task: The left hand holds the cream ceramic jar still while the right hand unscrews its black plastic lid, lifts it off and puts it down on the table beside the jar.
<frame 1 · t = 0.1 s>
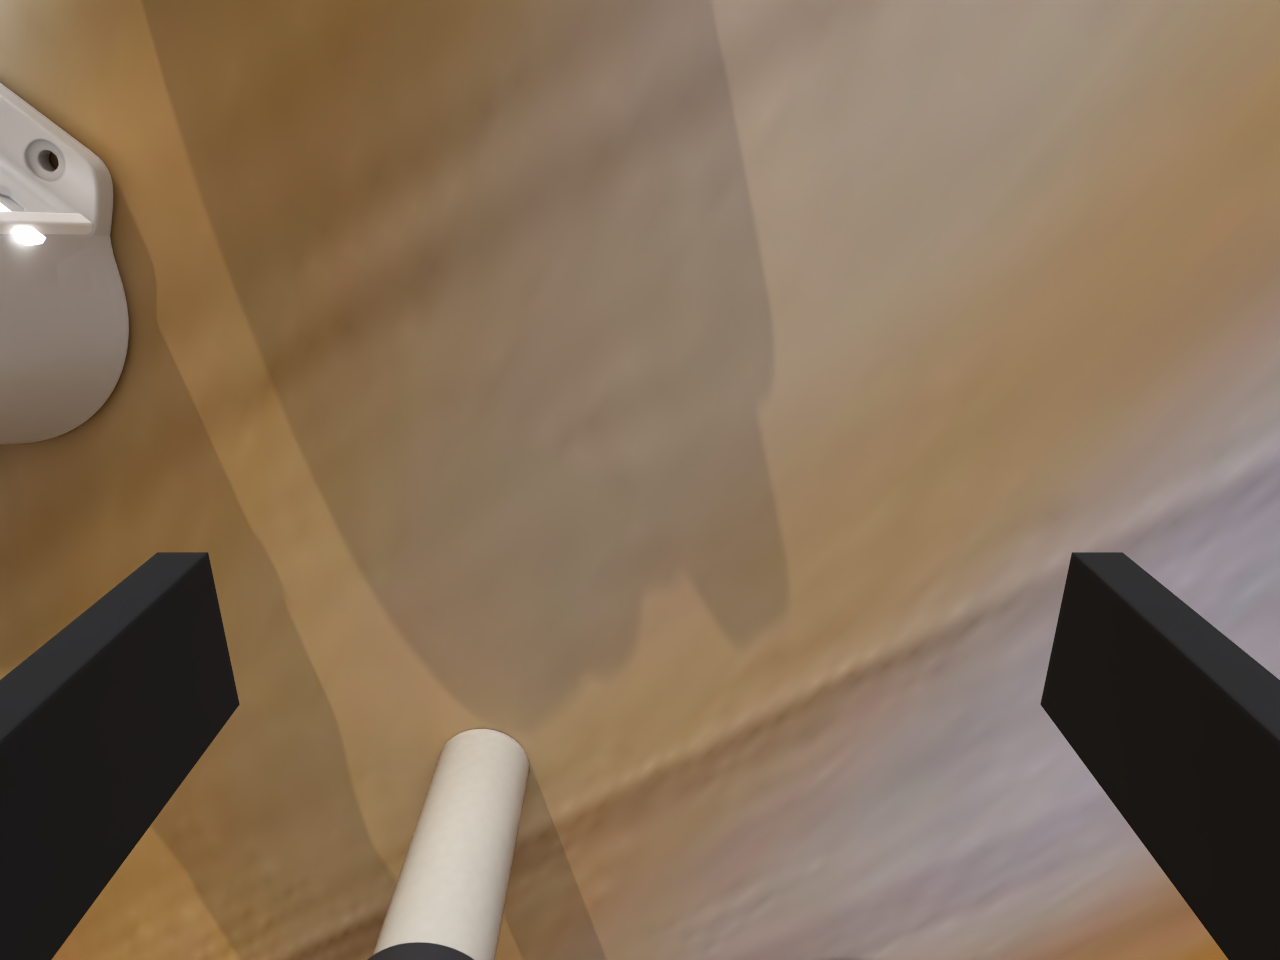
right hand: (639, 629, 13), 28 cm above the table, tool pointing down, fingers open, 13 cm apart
jar: (484, 765, 48), on the table
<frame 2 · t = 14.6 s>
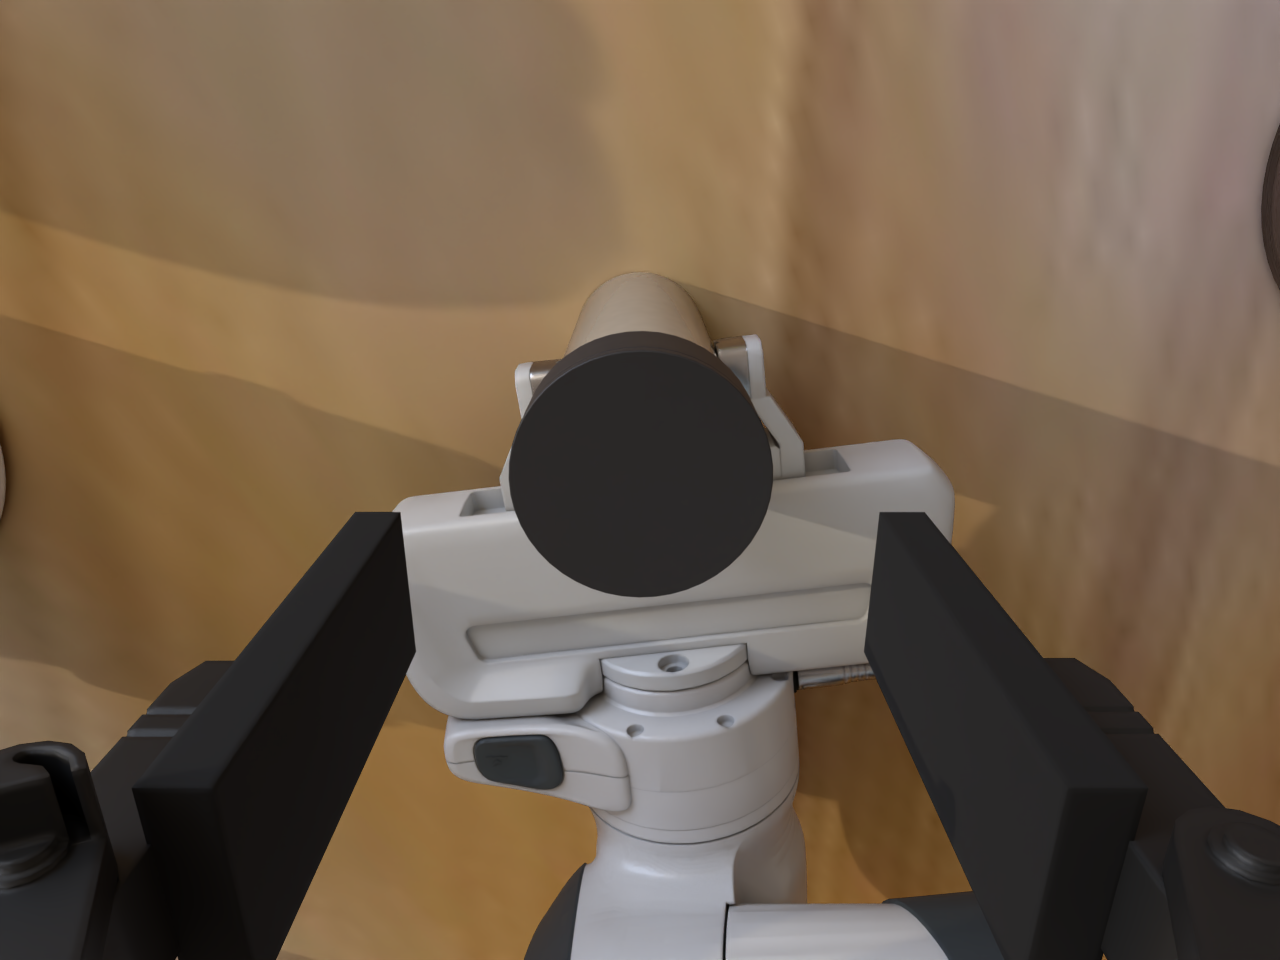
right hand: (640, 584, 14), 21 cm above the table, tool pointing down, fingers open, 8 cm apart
left hand: (635, 351, 27), fingers closed on jar, 5 cm apart
lid: (640, 475, 19), point 16 cm above the table, screwed on, not yet turned
jar: (640, 337, 34), on the table, touching left hand
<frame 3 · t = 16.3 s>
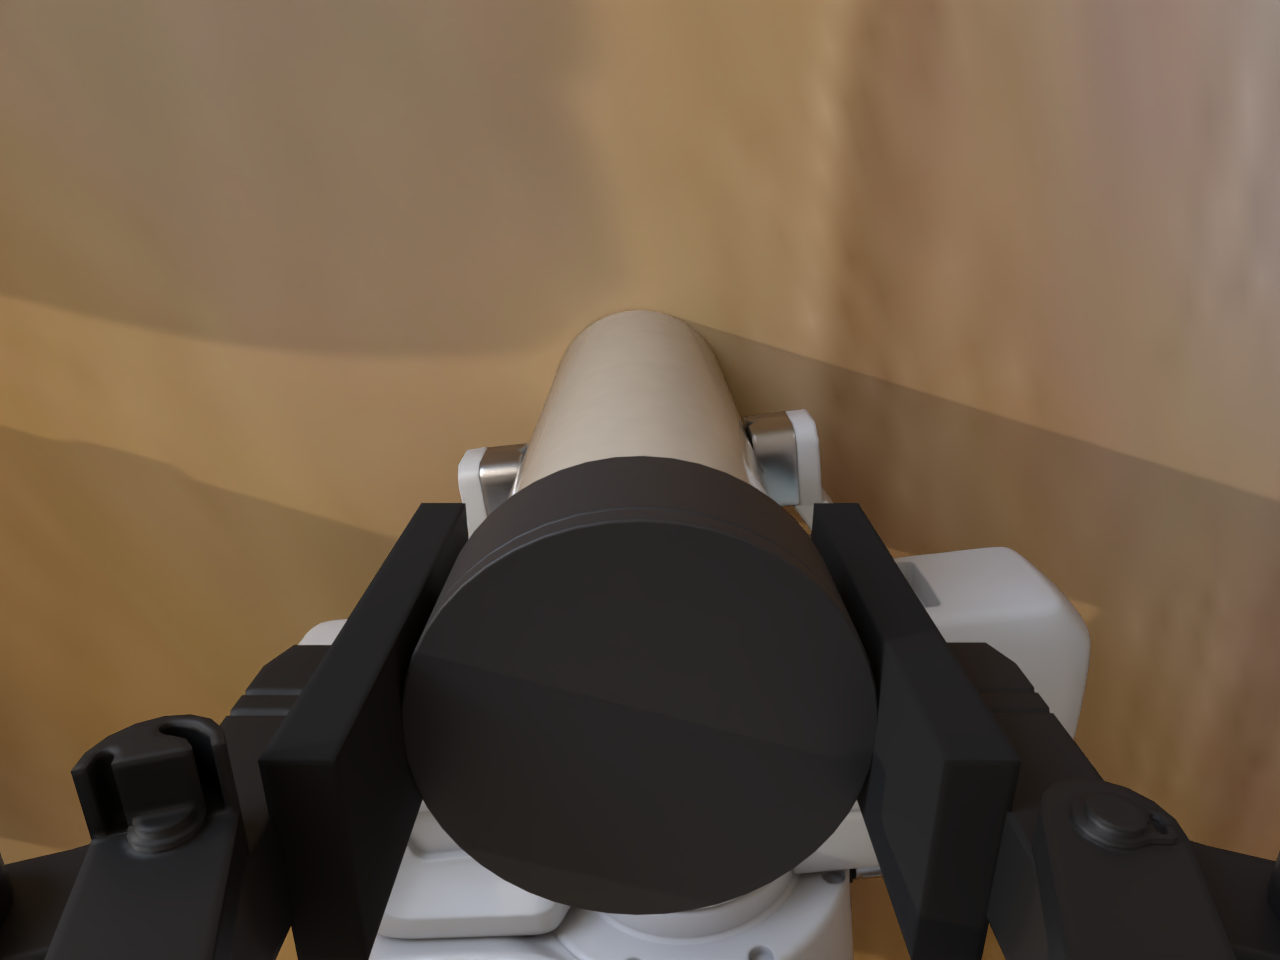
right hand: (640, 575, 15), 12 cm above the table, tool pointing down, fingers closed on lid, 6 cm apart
lid: (639, 720, 11), point 16 cm above the table, screwed on, not yet turned, touching right hand
jar: (639, 395, 26), on the table, touching left hand
when the right hand's fingers open (12 cm above the table, at t = 17.9 s): lid stays where it is, point 16 cm above the table.
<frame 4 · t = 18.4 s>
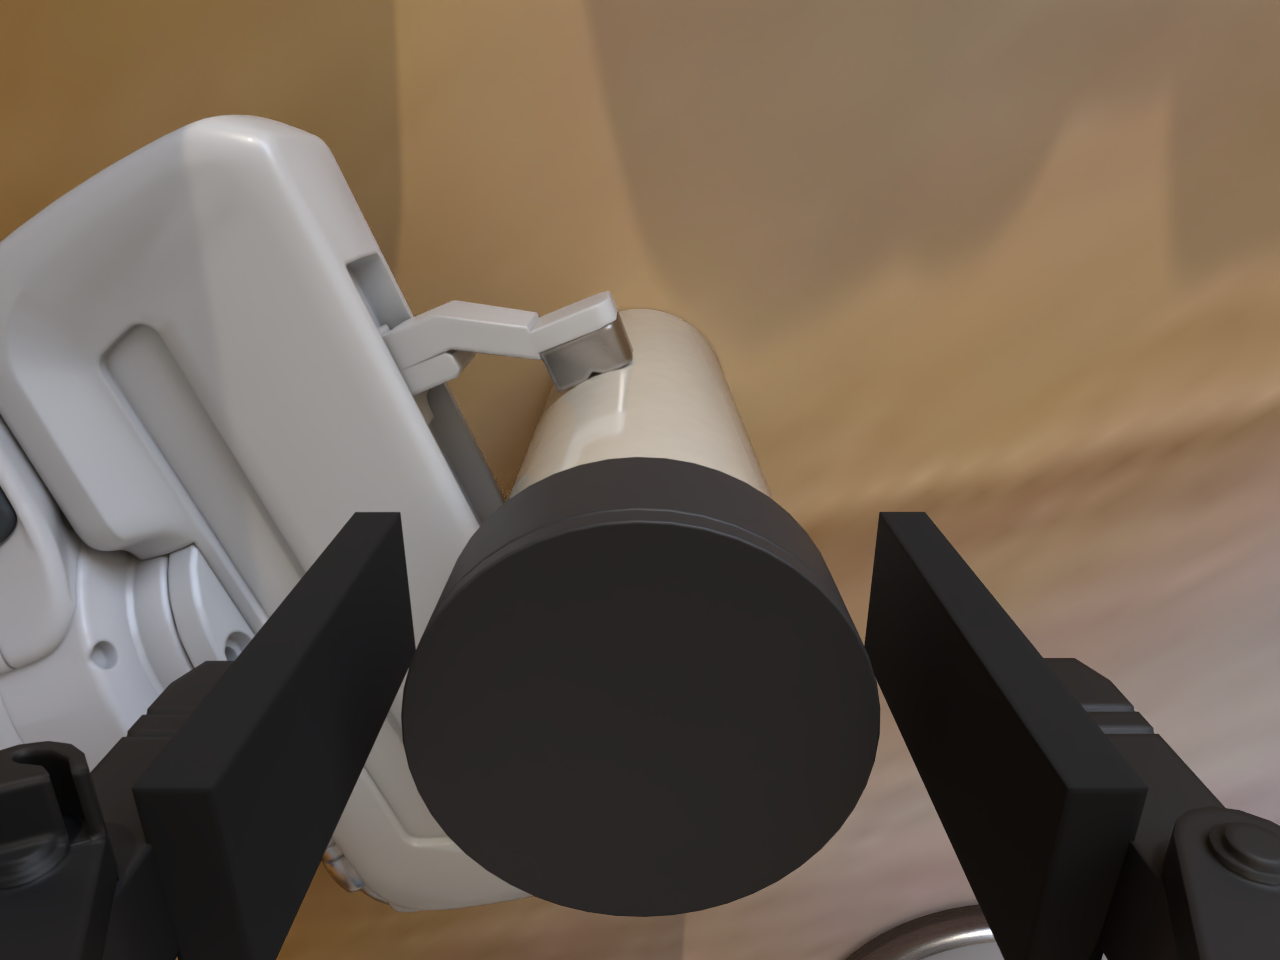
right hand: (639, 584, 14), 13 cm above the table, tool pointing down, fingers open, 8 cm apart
left hand: (675, 453, 20), fingers closed on jar, 5 cm apart
lid: (640, 722, 11), point 16 cm above the table, turned 107° so far, risen 0.3 cm, still on its thread
jar: (640, 393, 26), on the table, touching left hand
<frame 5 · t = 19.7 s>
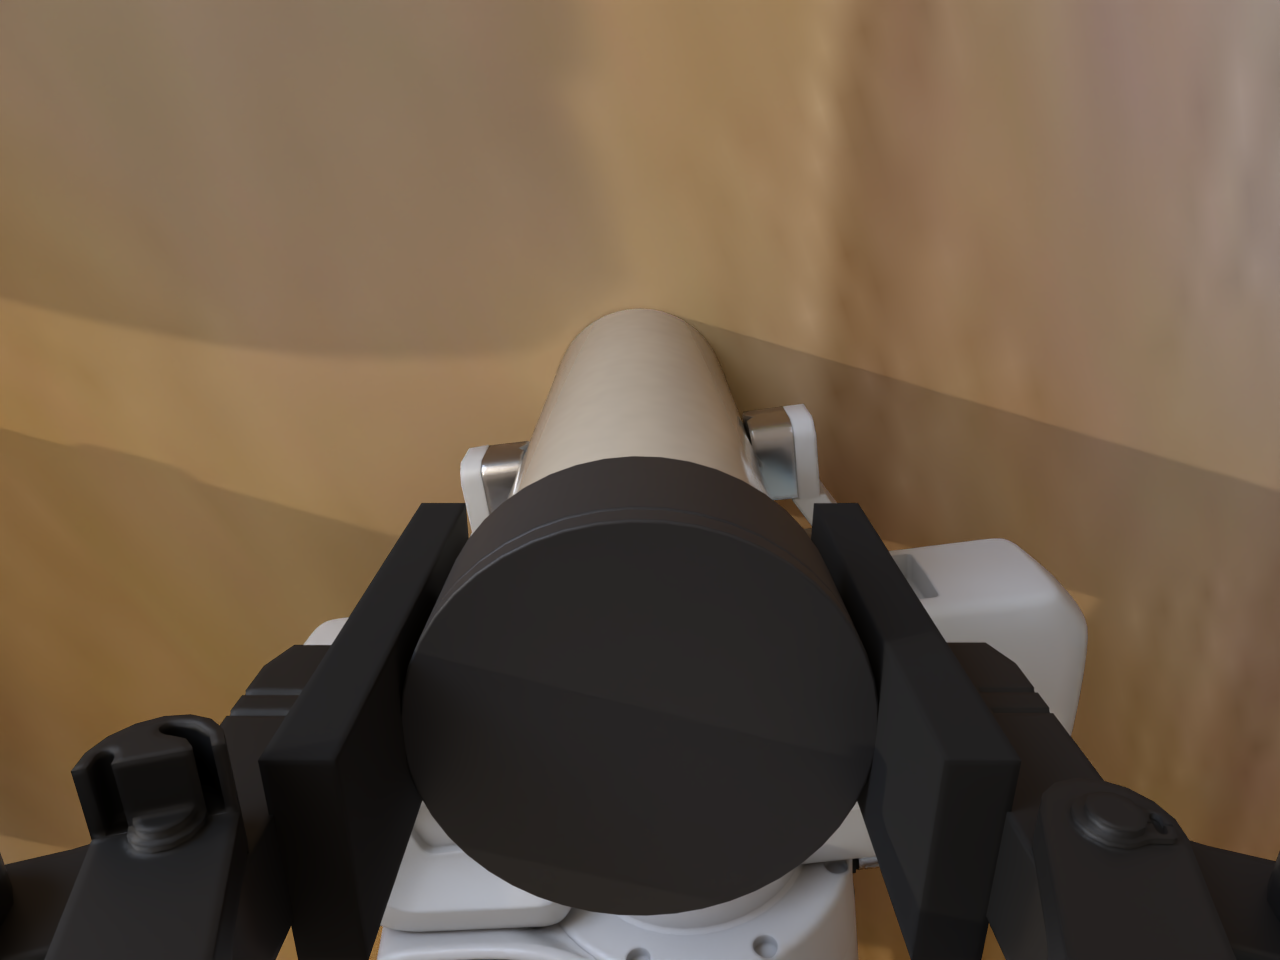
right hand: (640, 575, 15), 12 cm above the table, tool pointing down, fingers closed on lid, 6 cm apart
lid: (639, 721, 11), point 16 cm above the table, turned 107° so far, risen 0.3 cm, still on its thread, touching right hand
jar: (639, 392, 26), on the table, touching left hand
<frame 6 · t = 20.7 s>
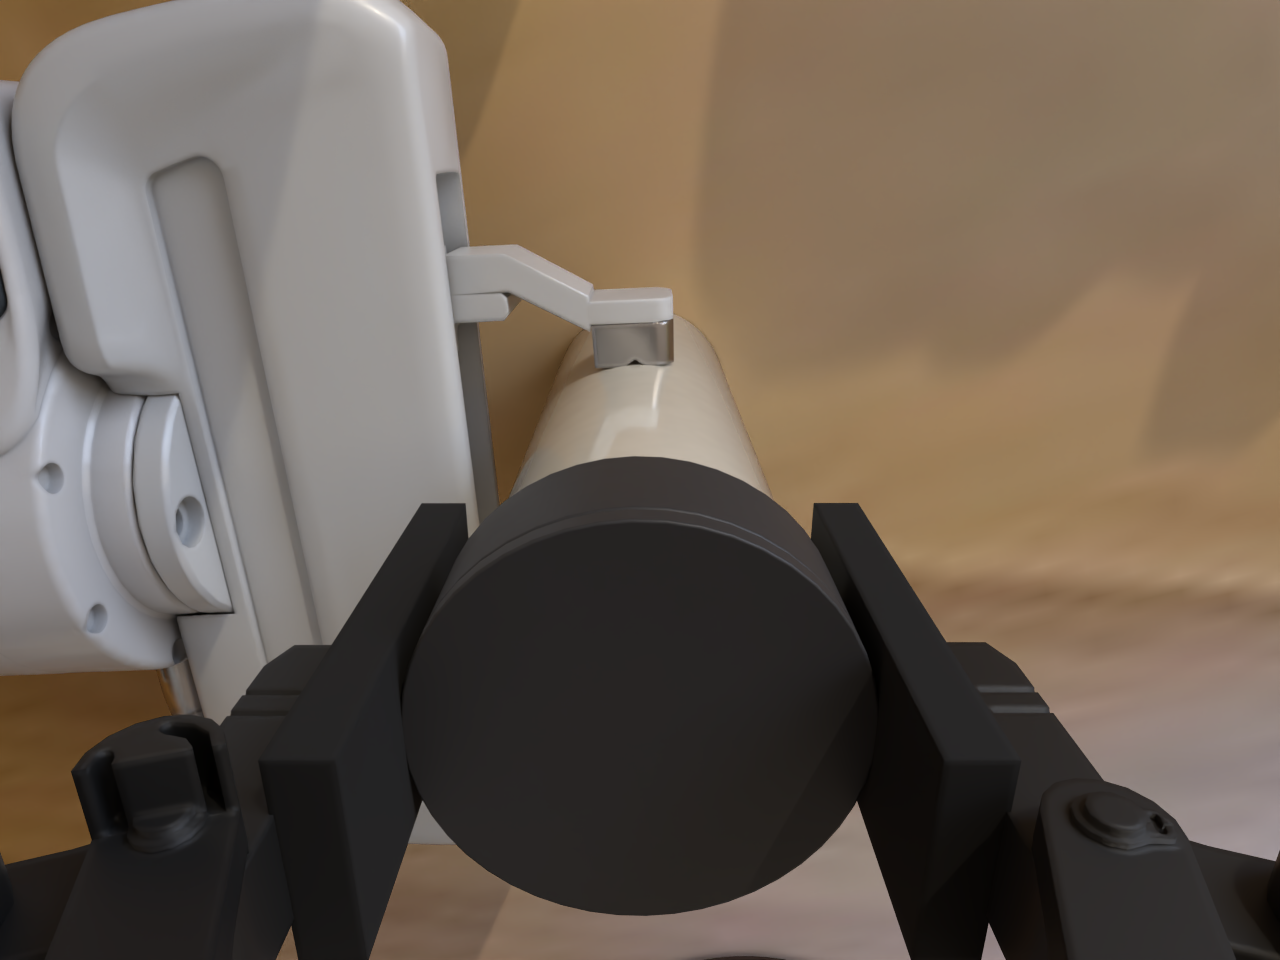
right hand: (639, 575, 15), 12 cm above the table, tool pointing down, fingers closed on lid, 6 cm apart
left hand: (678, 461, 20), fingers closed on jar, 5 cm apart
lid: (639, 721, 11), point 17 cm above the table, off its thread, touching right hand
jar: (640, 390, 26), on the table, touching left hand
when the right hand's fingers open (0 cm above the table, at t = 27.0 s): lid drops 2 cm, point 2 cm above the table.
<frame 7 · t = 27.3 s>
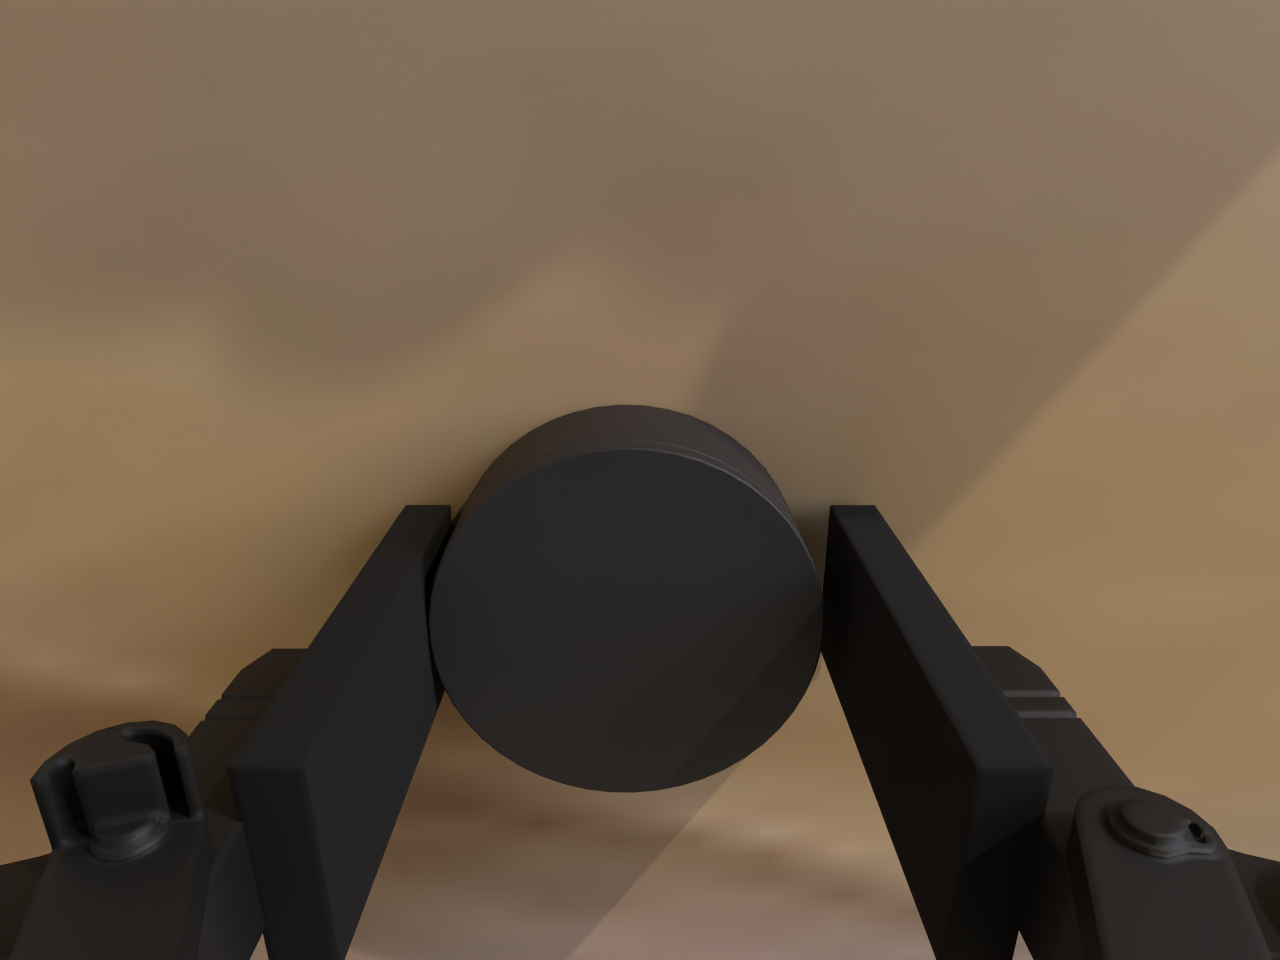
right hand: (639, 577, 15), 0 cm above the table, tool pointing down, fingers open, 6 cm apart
lid: (627, 623, 13), point 2 cm above the table, off its thread
when the left hand's fingers open (7 cm above the table, at t = 28.2 s): jar stays where it is, on the table.
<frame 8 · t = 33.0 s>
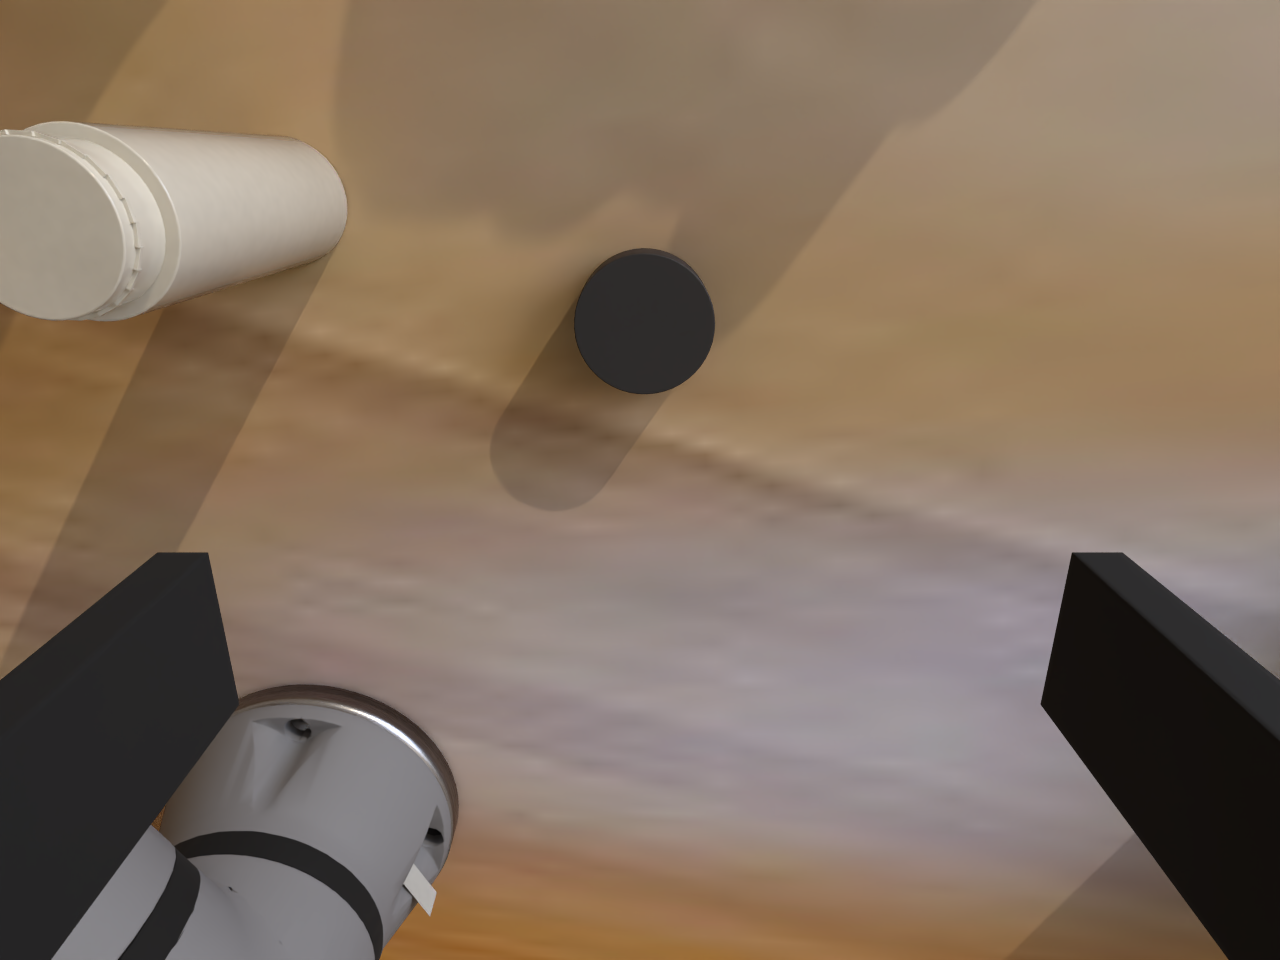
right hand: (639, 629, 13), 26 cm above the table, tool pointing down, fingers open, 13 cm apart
lid: (644, 324, 36), point 2 cm above the table, off its thread
jar: (286, 201, 36), on the table
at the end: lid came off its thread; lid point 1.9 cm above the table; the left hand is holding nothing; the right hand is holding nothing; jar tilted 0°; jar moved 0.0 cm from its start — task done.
